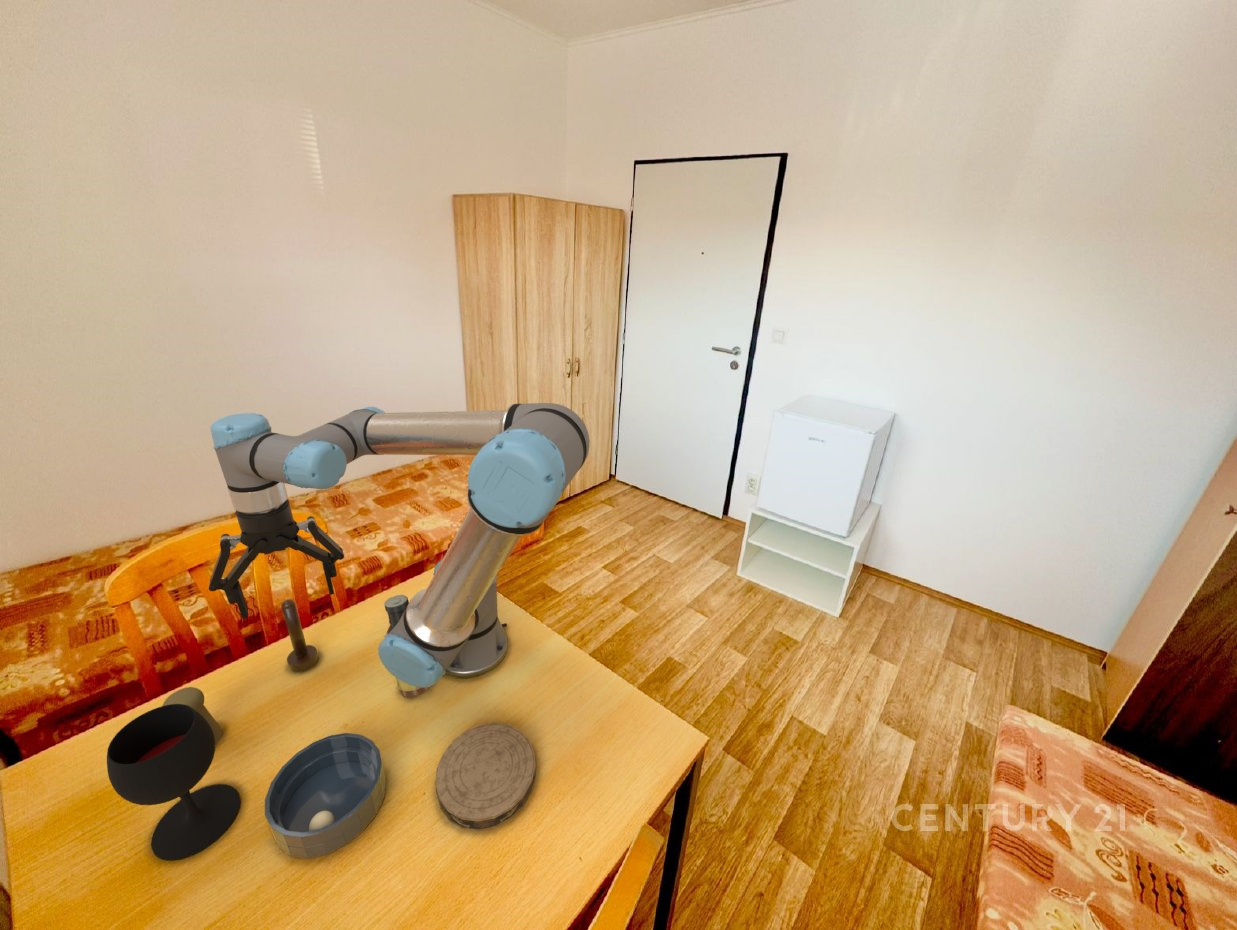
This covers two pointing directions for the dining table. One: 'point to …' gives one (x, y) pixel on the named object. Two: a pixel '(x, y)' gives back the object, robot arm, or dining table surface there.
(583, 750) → the dining table surface
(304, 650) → the brown rubber stamp
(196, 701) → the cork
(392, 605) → the sauce bottle
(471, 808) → the tin can
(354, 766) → the bowl
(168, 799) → the wine glass
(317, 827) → the egg
